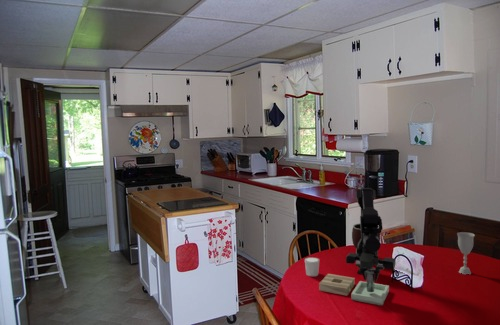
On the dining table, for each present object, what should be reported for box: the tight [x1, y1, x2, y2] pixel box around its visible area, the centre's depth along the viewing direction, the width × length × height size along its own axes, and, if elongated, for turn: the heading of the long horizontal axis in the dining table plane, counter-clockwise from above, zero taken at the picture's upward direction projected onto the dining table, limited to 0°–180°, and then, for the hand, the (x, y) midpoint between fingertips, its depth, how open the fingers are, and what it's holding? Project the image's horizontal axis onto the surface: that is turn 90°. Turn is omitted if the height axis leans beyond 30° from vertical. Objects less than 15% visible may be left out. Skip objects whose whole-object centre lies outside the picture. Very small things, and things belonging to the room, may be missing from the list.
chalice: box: [456, 231, 476, 275], centre depth 181 cm, size 7×7×18 cm
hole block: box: [318, 273, 356, 296], centre depth 170 cm, size 12×12×3 cm
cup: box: [304, 256, 320, 277], centre depth 186 cm, size 7×7×7 cm
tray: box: [350, 280, 390, 306], centre depth 162 cm, size 14×12×2 cm
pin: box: [365, 267, 376, 292], centre depth 161 cm, size 4×4×9 cm
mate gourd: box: [351, 223, 381, 249], centre depth 204 cm, size 16×14×20 cm
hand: (370, 281), depth 161 cm, fingers closed on pin, 4 cm apart
